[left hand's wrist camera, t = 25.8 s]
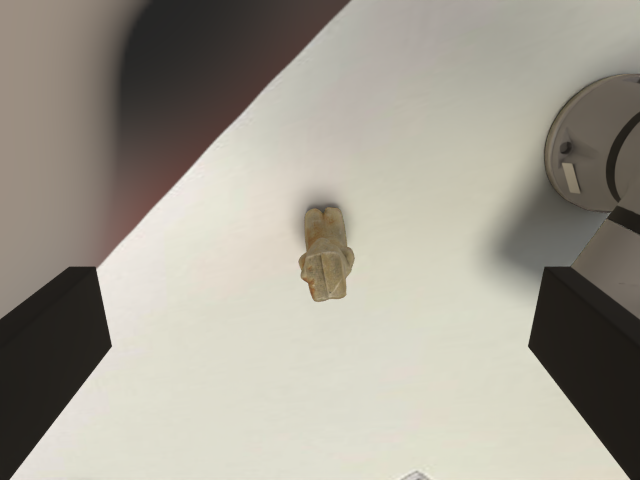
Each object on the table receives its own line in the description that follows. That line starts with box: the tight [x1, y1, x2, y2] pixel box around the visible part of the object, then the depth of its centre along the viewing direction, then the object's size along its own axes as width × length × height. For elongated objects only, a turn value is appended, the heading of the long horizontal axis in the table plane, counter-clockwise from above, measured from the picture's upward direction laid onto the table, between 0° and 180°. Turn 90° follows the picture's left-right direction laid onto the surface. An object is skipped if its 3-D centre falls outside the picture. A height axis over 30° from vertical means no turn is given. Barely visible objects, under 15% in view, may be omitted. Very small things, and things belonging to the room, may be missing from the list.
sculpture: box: [299, 207, 355, 302], centre depth 46 cm, size 6×7×15 cm
